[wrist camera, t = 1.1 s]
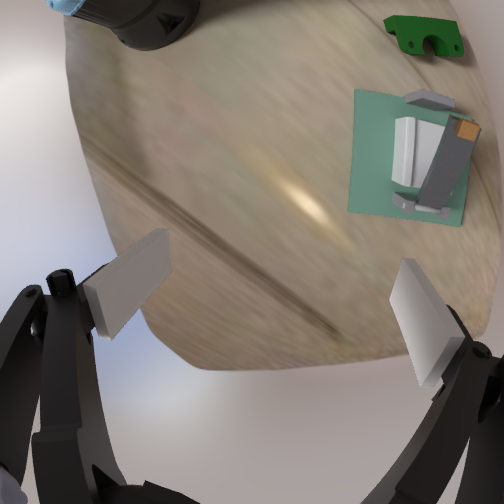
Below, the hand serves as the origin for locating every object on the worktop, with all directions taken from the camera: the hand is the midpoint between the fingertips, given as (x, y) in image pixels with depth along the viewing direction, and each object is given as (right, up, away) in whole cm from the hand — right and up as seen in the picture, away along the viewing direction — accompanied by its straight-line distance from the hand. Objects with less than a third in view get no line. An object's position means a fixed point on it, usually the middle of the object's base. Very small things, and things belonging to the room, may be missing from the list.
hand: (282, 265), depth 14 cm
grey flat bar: (+21, +11, +9) cm, 25 cm away
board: (+22, +14, +19) cm, 33 cm away
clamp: (+24, +33, +11) cm, 42 cm away
